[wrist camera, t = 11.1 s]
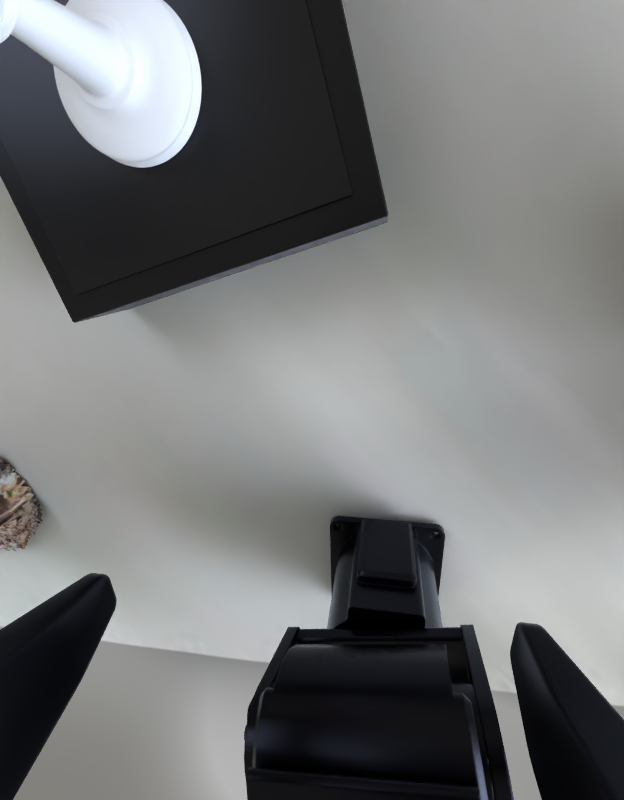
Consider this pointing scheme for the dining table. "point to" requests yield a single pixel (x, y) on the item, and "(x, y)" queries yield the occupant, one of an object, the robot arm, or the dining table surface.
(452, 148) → the dining table surface
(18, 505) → the grey mottled stone figure
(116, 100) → the chess piece
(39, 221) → the stand
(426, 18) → the dining table surface
